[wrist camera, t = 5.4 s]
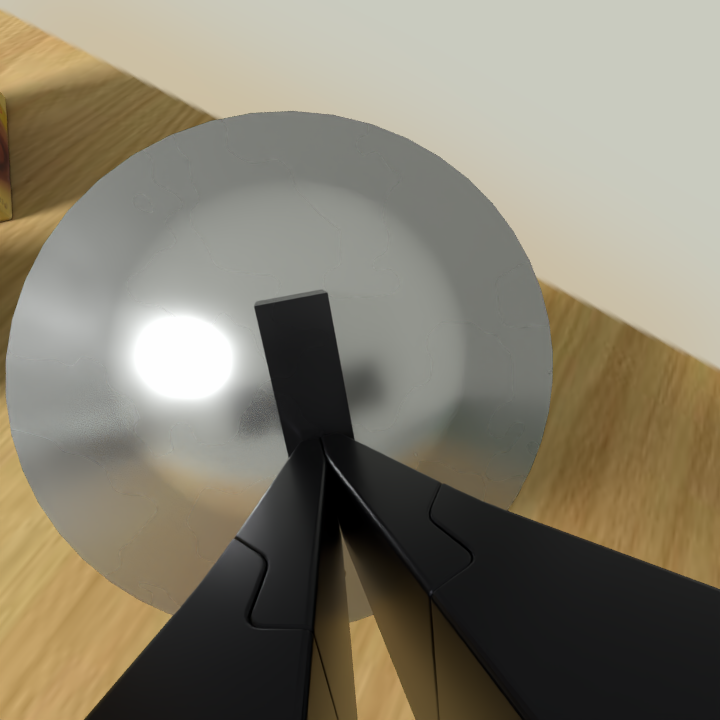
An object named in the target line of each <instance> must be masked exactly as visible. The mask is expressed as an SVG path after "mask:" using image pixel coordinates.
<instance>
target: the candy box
mask: <svg viewBox="0 0 720 720" xmlns="http://www.w3.org/2000/svg"><path fill="white" fill-rule="evenodd" d="M9 167H10V165H9V149H8V136H7V112H6V99H5V97H4V96H3V95H2V93H1V92H0V222H2V221H6V220H10V219H11V218H12V200H11V183H10V170H9Z"/></svg>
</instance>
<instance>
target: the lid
mask: <svg viewBox="0 0 720 720" xmlns="http://www.w3.org/2000/svg"><path fill="white" fill-rule="evenodd" d="M552 376H553V351H552V342H551V334H550V326H549V319H548V315H547V311H546V307H545V303H544V299H543V295H542V291H541V288H540V286H539V283H538V281H537V278H536V276H535V273H534V271H533V268H532V265H531V263H530V260H529V259H528V257H527V255H526V253H525V251H524V250H523V248H522V246H521V244H520V242H519V241H518V239H517V237H516V235H515V233H514V232H513V230H512V229H511V228H510V226H509V225H508V223H507V222H506V221H505V219H504V218H503V217H502V215H501V214H500V213H499V211H498V210H497V209H496V207H495V206H494V205H493V203H492V202H490V200H489V199H487V197H486V196H485V195H484V194H483V193H482V192H481V191H480V190H479V189H478V188H477V187H476V186H475V185H474V184H473V183H472V182H471V181H470V180H469V179H468V178H466V177H465V176H464V175H462V174H461V173H460V172H459V171H457V170H456V169H455V168H454V167H452V166H451V165H450V164H448V163H447V162H446V161H444V160H443V159H442V158H441V157H439V156H437V155H436V154H434V153H432V152H430V151H429V150H427V149H425V148H423V147H421V146H420V145H418V144H416V143H414V142H413V141H411V140H409V139H407V138H405V137H403V136H400V135H397V134H395V133H392V132H390V131H387V130H385V129H382V128H380V127H377V126H375V125H372V124H369V123H364V122H360V121H356V120H352V119H348V118H343V117H339V116H335V115H329V114H318V113H307V112H297V111H287V112H286V111H285V112H267V113H266V112H265V113H249V114H244V115H239V116H234V117H229V118H224V119H219V120H213V121H209V122H206V123H204V124H201V125H198V126H195V127H192V128H189V129H186V130H184V131H181V132H178V133H175V134H172V135H170V136H168V137H166V138H164V139H162V140H160V141H158V142H156V143H155V144H153V145H151V146H149V147H147V148H145V149H143V150H141V151H139V152H137V153H136V154H134V155H132V156H131V157H129V158H128V159H127V160H125V161H124V162H123V163H121V164H120V165H118V166H117V167H116V168H114V169H113V170H112V171H110V172H109V173H108V174H106V175H105V176H104V177H102V178H101V179H99V180H98V181H97V182H96V183H95V184H94V185H93V186H92V187H91V188H90V189H89V190H88V191H87V192H86V193H85V194H84V195H83V196H82V197H81V198H80V199H79V200H78V201H77V202H76V203H75V204H74V205H73V206H72V207H71V208H70V209H69V210H68V212H67V213H66V214H65V216H64V217H63V218H62V220H61V221H60V223H59V224H58V225H57V227H56V228H55V229H54V231H53V232H52V234H51V235H50V236H49V238H48V239H47V240H46V242H45V243H44V245H43V247H42V249H41V250H40V252H39V254H38V256H37V258H36V260H35V262H34V264H33V266H32V268H31V270H30V272H29V274H28V276H27V278H26V280H25V282H24V285H23V288H22V291H21V294H20V297H19V300H18V303H17V306H16V310H15V313H14V316H13V319H12V324H11V330H10V337H9V343H8V349H7V355H6V402H7V408H8V415H9V421H10V428H11V434H12V438H13V441H14V444H15V447H16V451H17V454H18V457H19V460H20V463H21V466H22V470H23V472H24V474H25V476H26V478H27V480H28V482H29V484H30V486H31V488H32V490H33V492H34V494H35V497H36V499H37V501H38V503H39V504H40V506H41V507H42V509H43V510H44V512H45V513H46V515H47V516H48V518H49V519H50V520H51V522H52V523H53V525H54V526H55V528H56V529H57V531H58V532H59V533H60V535H61V536H62V537H63V538H64V539H65V540H66V541H67V542H68V543H69V544H70V546H71V547H72V548H73V549H74V550H75V551H76V552H77V553H78V554H79V555H80V556H81V558H82V559H83V560H85V561H86V562H87V563H88V564H89V565H91V566H92V567H93V568H94V569H95V570H97V571H98V572H99V573H100V574H101V575H103V576H104V577H105V578H106V579H107V580H109V581H110V582H111V583H113V584H115V585H116V586H118V587H119V588H121V589H122V590H124V591H126V592H127V593H129V594H130V595H132V596H134V597H135V598H137V599H138V600H140V601H143V602H145V603H147V604H149V605H151V606H153V607H155V608H157V609H160V610H162V611H164V612H166V613H168V614H171V615H174V614H175V613H176V612H177V610H178V609H179V608H180V607H181V606H182V605H183V603H184V602H185V601H186V600H187V598H188V597H189V596H190V595H191V594H192V592H193V591H194V590H195V589H196V587H197V586H198V585H199V584H200V583H201V581H202V580H203V579H204V578H205V576H206V575H207V574H208V572H209V571H210V569H211V568H212V567H213V565H214V564H215V563H216V561H217V560H218V559H219V557H220V556H221V555H222V553H223V552H224V550H225V549H226V547H227V546H228V544H229V543H230V542H231V540H233V539H234V537H235V536H236V534H237V533H238V531H239V530H240V528H241V527H242V525H243V524H244V523H245V521H246V520H247V518H248V517H249V515H250V514H251V512H252V511H253V509H254V508H255V507H256V505H257V504H258V502H259V501H260V499H261V498H262V496H263V495H264V494H265V492H266V491H267V489H268V488H269V486H270V485H271V483H272V482H273V480H274V479H275V478H276V476H277V475H278V473H279V472H280V470H281V469H282V467H283V466H284V465H285V463H286V462H287V460H288V459H289V457H290V456H291V454H292V453H293V451H294V450H295V449H296V447H297V446H298V444H299V443H300V442H301V441H304V440H308V439H312V438H319V439H320V441H321V437H322V436H325V435H329V434H333V433H341V434H343V435H345V436H347V437H350V438H352V439H354V440H356V441H358V442H360V443H362V444H364V445H366V446H368V447H370V448H372V449H374V450H376V451H378V452H380V453H382V454H384V455H386V456H388V457H390V458H392V459H394V460H396V461H398V462H401V463H403V464H405V465H407V466H409V467H411V468H413V469H415V470H417V471H419V472H421V473H423V474H425V475H427V476H429V477H431V478H433V479H435V480H437V481H439V482H441V483H442V484H443V483H445V484H447V485H449V486H451V487H453V488H455V489H457V490H459V491H462V492H464V493H466V494H468V495H470V496H473V497H475V498H477V499H479V500H481V501H484V502H486V503H489V504H491V505H494V506H496V507H499V508H502V509H504V510H508V509H509V507H510V506H511V504H512V503H513V501H514V500H515V498H516V497H517V495H518V493H519V491H520V489H521V487H522V485H523V483H524V481H525V479H526V477H527V476H528V474H529V472H530V470H531V467H532V465H533V462H534V459H535V457H536V454H537V451H538V449H539V446H540V443H541V441H542V437H543V433H544V429H545V425H546V421H547V417H548V413H549V406H550V398H551V390H552ZM338 522H339V521H338ZM339 527H340V525H339ZM340 532H341V529H340ZM341 537H342V546H343V557H344V569H345V580H346V592H347V603H348V615H349V622H353V621H357V620H360V619H363V618H365V617H368V616H371V615H374V614H373V612H372V609H371V607H370V605H369V602H368V600H367V597H366V595H365V592H364V590H363V587H362V585H361V582H360V580H359V577H358V575H357V572H356V570H355V567H354V565H353V562H352V560H351V557H350V555H349V552H348V550H347V547H346V544H345V542H344V539H343V536H342V533H341Z"/></svg>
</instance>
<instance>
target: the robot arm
mask: <svg viewBox="0 0 720 720" xmlns="http://www.w3.org/2000/svg"><path fill="white" fill-rule="evenodd" d="M338 521H339V522H338ZM339 525H340V527H339ZM340 529H341V532H340ZM341 533H342V536H343V539H344V542H345V544H346V547H347V550H348V552H349V555H350V557H351V560H352V562H353V565H354V567H355V570H356V572H357V575H358V577H359V580H360V582H361V585H362V587H363V590H364V592H365V595H366V597H367V600H368V602H369V605H370V607H371V609H372V612H373V614H374V617H375V619H376V622H377V624H378V627H379V629H380V632H381V634H382V637H383V639H384V642H385V644H386V647H387V649H388V652H389V654H390V657H391V659H392V662H393V664H394V667H395V669H396V672H397V674H398V677H399V679H400V682H401V684H402V687H403V689H404V692H405V694H406V697H407V699H408V702H409V704H410V707H411V709H412V712H413V714H414V717H415V719H416V720H720V589H718V588H715V587H712V586H710V585H707V584H704V583H701V582H699V581H696V580H693V579H691V578H688V577H685V576H682V575H680V574H677V573H674V572H672V571H669V570H666V569H664V568H661V567H658V566H655V565H653V564H650V563H647V562H645V561H642V560H639V559H636V558H634V557H631V556H628V555H626V554H623V553H620V552H617V551H615V550H612V549H609V548H607V547H604V546H601V545H598V544H596V543H593V542H590V541H588V540H585V539H582V538H579V537H577V536H574V535H571V534H569V533H566V532H563V531H560V530H558V529H555V528H552V527H550V526H547V525H544V524H541V523H539V522H536V521H533V520H531V519H528V518H525V517H522V516H520V515H517V514H514V513H512V512H509V511H507V510H504V509H502V508H499V507H496V506H494V505H491V504H489V503H486V502H484V501H481V500H479V499H477V498H475V497H473V496H470V495H468V494H466V493H464V492H462V491H459V490H457V489H455V488H453V487H451V486H449V485H447V484H445V483H443V484H442V483H441V482H439V481H437V480H435V479H433V478H431V477H429V476H427V475H425V474H423V473H421V472H419V471H417V470H415V469H413V468H411V467H409V466H407V465H405V464H403V463H401V462H398V461H396V460H394V459H392V458H390V457H388V456H386V455H384V454H382V453H380V452H378V451H376V450H374V449H372V448H370V447H368V446H366V445H364V444H362V443H360V442H358V441H356V440H354V439H352V438H350V437H347V436H345V435H343V434H341V433H333V434H329V435H325V436H322V437H321V441H320V439H319V438H312V439H308V440H304V441H301V442H300V443H299V444H298V446H297V447H296V449H295V450H294V451H293V453H292V454H291V456H290V457H289V459H288V460H287V462H286V463H285V465H284V466H283V467H282V469H281V470H280V472H279V473H278V475H277V476H276V478H275V479H274V480H273V482H272V483H271V485H270V486H269V488H268V489H267V491H266V492H265V494H264V495H263V496H262V498H261V499H260V501H259V502H258V504H257V505H256V507H255V508H254V509H253V511H252V512H251V514H250V515H249V517H248V518H247V520H246V521H245V523H244V524H243V525H242V527H241V528H240V530H239V531H238V533H237V534H236V536H235V537H234V539H233V540H231V542H230V543H229V544H228V546H227V547H226V549H225V550H224V552H223V553H222V555H221V556H220V557H219V559H218V560H217V561H216V563H215V564H214V565H213V567H212V568H211V569H210V571H209V572H208V574H207V575H206V576H205V578H204V579H203V580H202V581H201V583H200V584H199V585H198V586H197V587H196V589H195V590H194V591H193V592H192V594H191V595H190V596H189V597H188V598H187V600H186V601H185V602H184V603H183V605H182V606H181V607H180V608H179V609H178V610H177V612H176V613H175V614H174V615H173V616H172V617H171V619H170V620H169V621H168V622H167V623H166V624H165V626H164V627H163V628H162V629H161V630H160V632H159V633H158V634H157V635H156V636H155V637H154V639H153V640H152V641H151V642H150V643H149V644H148V646H147V647H146V648H145V649H144V650H143V651H142V653H141V654H140V655H139V656H138V657H137V658H136V660H135V661H134V662H133V663H132V664H131V665H130V667H129V668H128V669H127V670H126V671H125V672H124V674H123V675H122V676H121V677H120V678H119V679H118V681H117V682H116V683H115V684H114V685H113V686H112V688H111V689H110V690H109V691H108V692H107V693H106V695H105V696H104V697H103V698H102V699H101V700H100V702H99V703H98V704H97V705H96V706H95V707H94V709H93V710H92V711H91V712H90V713H89V714H88V716H87V717H86V718H85V719H84V720H357V708H356V696H355V685H354V673H353V662H352V650H351V638H350V627H349V615H348V603H347V592H346V580H345V569H344V557H343V546H342V537H341Z"/></svg>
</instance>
